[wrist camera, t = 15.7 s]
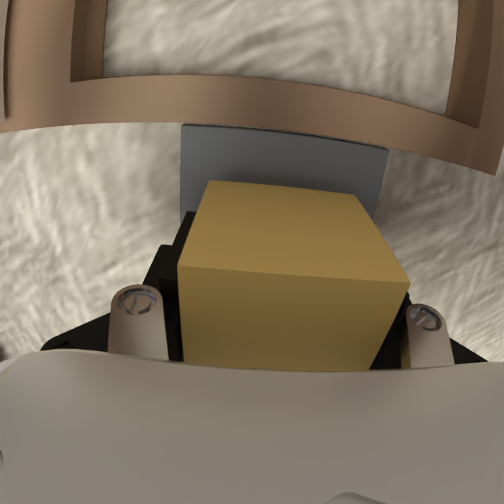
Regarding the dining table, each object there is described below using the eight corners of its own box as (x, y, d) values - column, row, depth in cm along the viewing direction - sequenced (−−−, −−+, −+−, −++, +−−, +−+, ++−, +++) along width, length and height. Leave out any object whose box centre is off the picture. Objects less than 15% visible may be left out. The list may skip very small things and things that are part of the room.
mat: (385, 148, 12) (389, 150, 11) (343, 302, 16) (344, 307, 16) (183, 124, 12) (181, 126, 11) (184, 290, 16) (182, 295, 15)
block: (355, 194, 11) (410, 282, 7) (325, 304, 13) (347, 405, 9) (209, 179, 11) (176, 265, 6) (206, 296, 13) (188, 399, 9)
